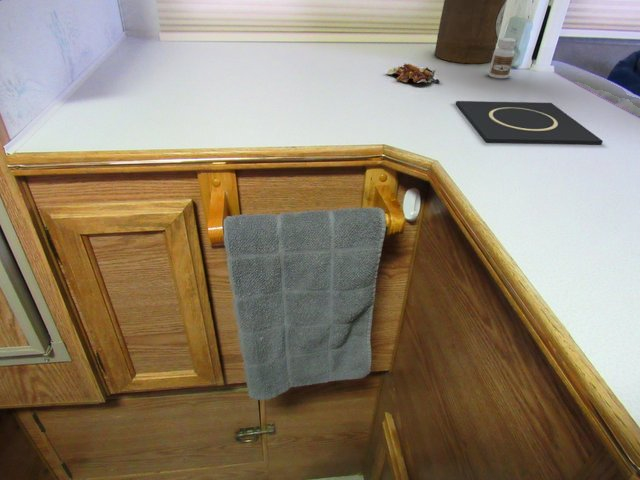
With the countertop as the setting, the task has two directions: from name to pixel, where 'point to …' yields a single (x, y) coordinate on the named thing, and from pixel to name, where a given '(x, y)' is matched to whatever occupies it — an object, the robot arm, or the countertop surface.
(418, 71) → the reddish brown crumpled piece
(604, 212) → the countertop surface
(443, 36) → the wooden container
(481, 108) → the mat
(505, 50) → the pill bottle
